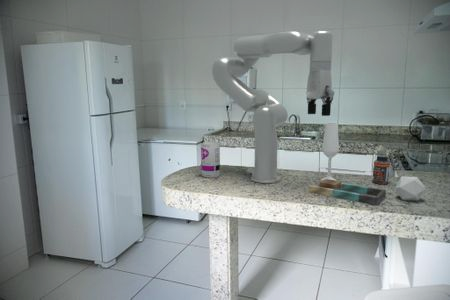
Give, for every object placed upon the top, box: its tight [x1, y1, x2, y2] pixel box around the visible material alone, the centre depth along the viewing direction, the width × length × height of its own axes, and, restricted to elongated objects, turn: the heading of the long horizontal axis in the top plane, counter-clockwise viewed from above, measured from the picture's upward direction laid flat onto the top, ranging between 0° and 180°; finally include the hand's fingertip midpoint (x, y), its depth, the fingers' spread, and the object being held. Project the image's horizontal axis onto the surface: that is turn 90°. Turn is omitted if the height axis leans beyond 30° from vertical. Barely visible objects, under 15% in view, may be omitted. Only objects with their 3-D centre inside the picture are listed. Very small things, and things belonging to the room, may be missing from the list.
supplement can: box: [200, 141, 221, 179], centre depth 146 cm, size 8×8×15 cm
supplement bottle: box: [371, 154, 391, 185], centre depth 133 cm, size 6×6×11 cm
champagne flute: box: [321, 122, 340, 181], centre depth 136 cm, size 7×7×24 cm
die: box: [394, 176, 427, 202], centre depth 113 cm, size 8×9×10 cm
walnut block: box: [318, 179, 342, 191], centre depth 123 cm, size 6×6×4 cm
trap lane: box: [308, 178, 387, 206], centre depth 119 cm, size 24×11×2 cm, turn 52°
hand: (318, 114), depth 122 cm, fingers open, 9 cm apart
